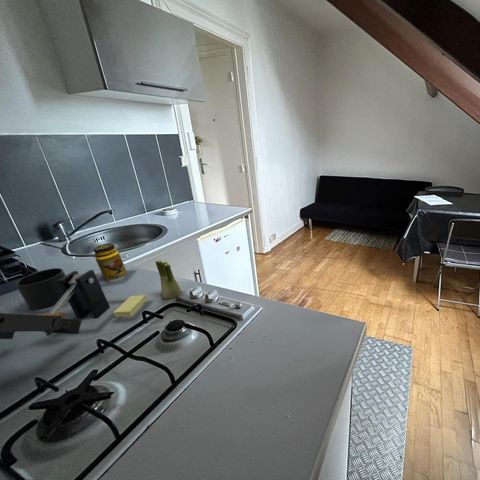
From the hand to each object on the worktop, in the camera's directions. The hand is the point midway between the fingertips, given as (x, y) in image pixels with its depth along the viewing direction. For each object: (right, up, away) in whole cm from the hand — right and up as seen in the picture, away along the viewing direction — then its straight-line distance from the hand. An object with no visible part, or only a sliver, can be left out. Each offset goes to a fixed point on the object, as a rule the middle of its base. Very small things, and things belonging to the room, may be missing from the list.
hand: (45, 329), depth 55 cm
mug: (-19, +1, +21) cm, 28 cm away
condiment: (-10, +6, +31) cm, 33 cm away
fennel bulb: (+17, +2, +18) cm, 25 cm away
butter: (+9, 0, +14) cm, 16 cm away
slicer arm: (0, +5, +6) cm, 7 cm away
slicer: (0, -1, +13) cm, 13 cm away
